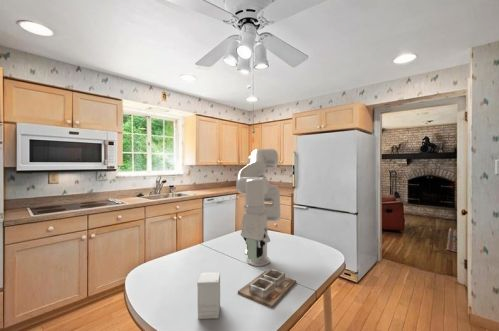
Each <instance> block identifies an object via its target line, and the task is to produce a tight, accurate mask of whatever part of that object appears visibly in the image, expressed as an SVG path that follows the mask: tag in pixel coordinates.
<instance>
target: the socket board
mask: <svg viewBox="0 0 499 331" xmlns="http://www.w3.org/2000/svg"><path fill="white" fill-rule="evenodd" d="M296 284H297V280H295V279H292V278H290V277H286V272H283V271H280V270H276V269H273V268H270V269H268V270H265V271H263V272H262V273H260V274H259V275H257V276H256V277H255V278H254V279H252V280H251V281H250V282H248V283H247V284H245V285H244V286H243V287H241V288H240V289H238V290H237V295H240V296H242V297H245V298H247V299H249V300H252V301H253V302H256V303H259V304H261V305H264V306H265V307H266V306H267V307H269V308H271V309H272V308H273V307H275V305H277V303H278V302H279V301H281V299H282V298H283V297H285V295H286V294H287V293H288V292H289V291H290V290H291V289H292V288H293V287H294V286H295V285H296Z"/></svg>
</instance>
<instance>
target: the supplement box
mask: <svg viewBox="0 0 499 331" xmlns="http://www.w3.org/2000/svg"><path fill="white" fill-rule="evenodd" d="M220 310H221V272H218V271H217V272H201V273H200V275H199V278H198V281H197V319H198V320H200V319H201V320H203V319H205V320H206V319H210V320H211V319H219V318H220V312H221V311H220Z"/></svg>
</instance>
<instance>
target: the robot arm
mask: <svg viewBox="0 0 499 331" xmlns="http://www.w3.org/2000/svg"><path fill="white" fill-rule="evenodd" d="M278 164H279V154H278V151H277V150H276V149H274V148H257V149H254V150H253V151H251V153H250V155H249V156H248V157H247V165H245V166H244V167H243V168H241V169H240V171H239V172H238V174H237V178H236V184H235V186H236V187H235V188H236V191H237V193H238V194H240V195H245V205H243V209H245V211H244V212H243V215H242V220H241V232H240V236H241V237H242V238H243V240H244V241H245V245H246V249H245V252H244V255H245V256H248V238H249V239H252V240H256V241H257V244H258V247H257V258H259V257H261V256H262V257H261V258H260V259H258V260H257V261H255V260H252V259H248V257H247V259H246V262H247V263H248V264H249V265H251V266H253V267H263V266H268V265H269V264H270V263H271V259H270V257H269V256H268V243H270V242H271V239H270V236H269V235H268V233H269V232H268V223H269V222H272V223H274V222H275V223H276V222H278V221H280V219H281V193H280V188H279V186H277V185H275V184H274V185H273V184H270V182H269V180H268V178H267V176H266V175H265V173H266V171H267V170H274V169H277V167H278V166H279V165H278ZM260 241H261V242H260Z"/></svg>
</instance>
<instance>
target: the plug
mask: <svg viewBox="0 0 499 331" xmlns="http://www.w3.org/2000/svg"><path fill="white" fill-rule="evenodd" d="M260 242H261V241H260ZM257 247H258V244H257V241H256V240H252V239H249V238H248V255H247V258H248V259H252V260H255V261H257V260H258V259H260V258H261V257H262V256H261V257H259V258H257Z"/></svg>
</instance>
